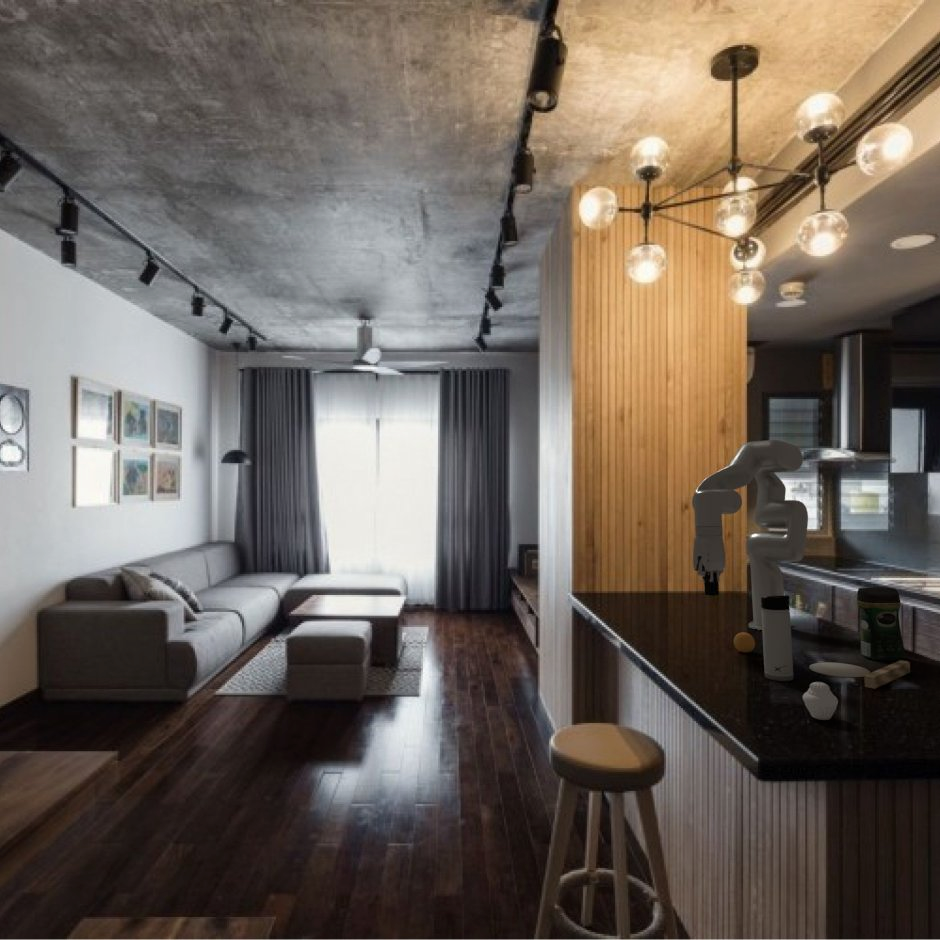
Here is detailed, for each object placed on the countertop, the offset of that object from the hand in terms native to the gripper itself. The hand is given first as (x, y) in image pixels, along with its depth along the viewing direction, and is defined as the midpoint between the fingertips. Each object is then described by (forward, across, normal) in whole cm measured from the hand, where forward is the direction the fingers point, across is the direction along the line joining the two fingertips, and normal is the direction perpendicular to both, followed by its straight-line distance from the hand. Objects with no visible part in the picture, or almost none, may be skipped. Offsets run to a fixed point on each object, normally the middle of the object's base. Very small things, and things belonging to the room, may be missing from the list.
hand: (711, 594), depth 186 cm
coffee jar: (+15, -20, +36) cm, 44 cm away
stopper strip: (+15, 0, +46) cm, 48 cm away
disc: (+15, 0, +34) cm, 38 cm away
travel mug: (+15, +17, +28) cm, 37 cm away
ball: (+12, 0, +10) cm, 16 cm away
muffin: (+15, +37, +48) cm, 62 cm away
